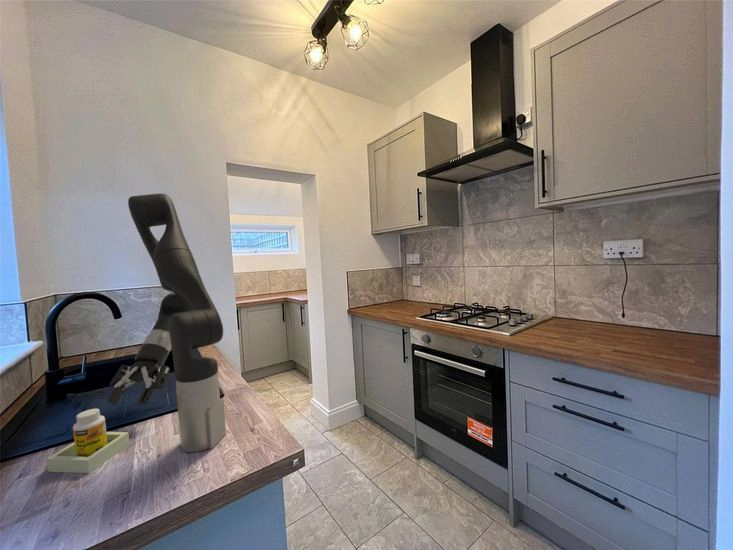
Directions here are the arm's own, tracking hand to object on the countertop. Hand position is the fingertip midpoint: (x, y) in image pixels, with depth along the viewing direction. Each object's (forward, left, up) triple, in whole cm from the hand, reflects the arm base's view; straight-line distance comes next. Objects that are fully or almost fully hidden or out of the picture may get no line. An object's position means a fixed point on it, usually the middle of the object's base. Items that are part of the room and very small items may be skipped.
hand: (126, 403), depth 80 cm
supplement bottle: (0, +10, -7) cm, 12 cm away
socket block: (0, +10, -8) cm, 13 cm away
